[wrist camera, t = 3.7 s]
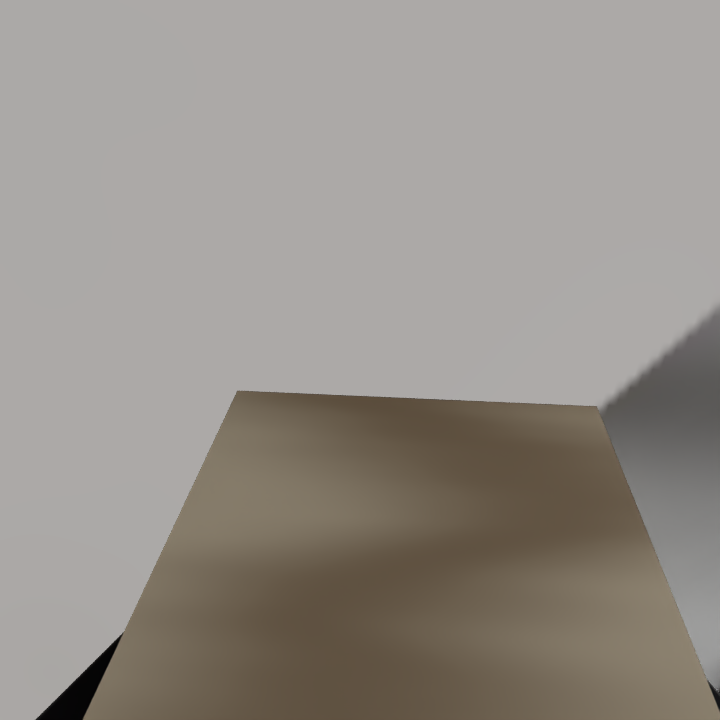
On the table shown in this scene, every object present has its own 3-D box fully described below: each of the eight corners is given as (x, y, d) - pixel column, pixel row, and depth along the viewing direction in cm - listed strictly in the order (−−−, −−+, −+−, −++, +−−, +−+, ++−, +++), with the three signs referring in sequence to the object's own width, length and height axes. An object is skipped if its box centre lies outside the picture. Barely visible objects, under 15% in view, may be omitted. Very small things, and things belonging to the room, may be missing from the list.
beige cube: (595, 406, 9) (759, 813, 4) (546, 642, 11) (618, 1046, 7) (237, 390, 9) (67, 748, 5) (266, 621, 12) (172, 992, 7)
